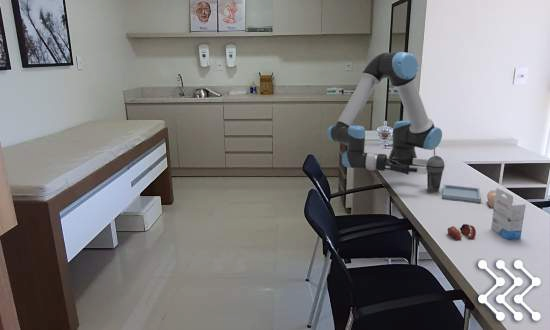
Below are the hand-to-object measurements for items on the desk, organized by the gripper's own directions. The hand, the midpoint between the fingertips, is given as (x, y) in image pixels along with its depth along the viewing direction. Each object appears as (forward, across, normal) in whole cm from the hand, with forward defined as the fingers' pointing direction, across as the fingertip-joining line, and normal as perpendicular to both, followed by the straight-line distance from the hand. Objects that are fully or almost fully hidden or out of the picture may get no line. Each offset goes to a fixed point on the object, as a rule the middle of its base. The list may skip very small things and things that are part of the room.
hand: (427, 166), depth 167 cm
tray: (+14, +1, -11) cm, 18 cm away
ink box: (+28, +35, -11) cm, 46 cm away
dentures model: (+14, +43, -11) cm, 46 cm away
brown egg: (+25, +8, -11) cm, 29 cm away
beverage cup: (+3, -1, -11) cm, 12 cm away
